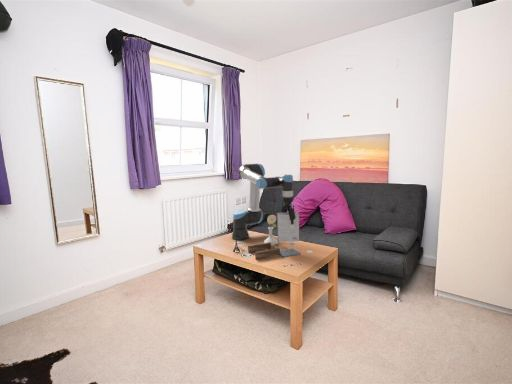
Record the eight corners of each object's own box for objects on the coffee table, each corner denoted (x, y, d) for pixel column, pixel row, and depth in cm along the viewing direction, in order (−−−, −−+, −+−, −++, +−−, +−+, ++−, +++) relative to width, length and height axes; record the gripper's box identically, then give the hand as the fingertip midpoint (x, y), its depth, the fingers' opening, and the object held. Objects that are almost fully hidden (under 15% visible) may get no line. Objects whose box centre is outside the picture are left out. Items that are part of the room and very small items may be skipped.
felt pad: (276, 251, 202) (276, 251, 202) (292, 249, 207) (292, 248, 207) (283, 257, 191) (283, 256, 191) (300, 254, 196) (300, 253, 196)
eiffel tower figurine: (234, 256, 196) (234, 238, 194) (225, 253, 203) (224, 236, 201) (248, 250, 208) (247, 233, 206) (238, 248, 214) (238, 231, 212)
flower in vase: (261, 243, 221) (260, 213, 218) (271, 241, 228) (271, 211, 224) (271, 248, 210) (270, 216, 207) (282, 244, 217) (281, 214, 214)
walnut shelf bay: (248, 252, 203) (247, 245, 202) (270, 248, 209) (270, 242, 209) (256, 259, 187) (255, 252, 187) (280, 255, 194) (279, 248, 193)
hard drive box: (298, 238, 200) (298, 212, 198) (299, 241, 193) (299, 214, 190) (277, 238, 202) (277, 212, 199) (277, 241, 194) (277, 214, 192)
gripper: (276, 195, 202) (276, 224, 205) (290, 199, 182) (290, 231, 184) (285, 194, 205) (285, 223, 208) (300, 198, 184) (300, 230, 187)
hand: (288, 227), depth 196 cm, fingers closed on hard drive box, 10 cm apart
